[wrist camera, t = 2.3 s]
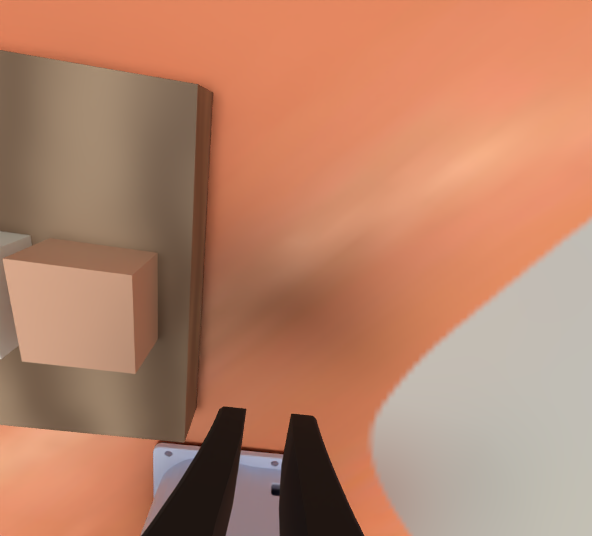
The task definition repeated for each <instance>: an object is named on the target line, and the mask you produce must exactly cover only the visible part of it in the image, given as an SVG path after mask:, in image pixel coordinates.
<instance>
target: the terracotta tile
mask: <svg viewBox="0 0 592 536" xmlns="http://www.w3.org/2000/svg"><path fill="white" fill-rule="evenodd" d="M2 259H3V265H4V270H5V275H6V280H7V286H8V291H9V296H10V301H11V307H12V312H13V317H14V322H15V328H16V333H17V338H18V343H19V349H20V354H21V359H22V362H31V363H41V364H50V365H59V366H68V367H77V368H86V369H95V370H104V371H113V372H122V373H131V374H136V372H137V371H138V369H139V368H140V366H141V365H142V363H143V362H144V360H145V358H146V357H147V355H148V354H149V352H150V351H151V349H152V348H153V346H154V345H155V343H156V341H157V340H158V253H156V252H149V251H142V250H134V249H127V248H119V247H112V246H105V245H97V244H90V243H83V242H75V241H68V240H61V239H53V238H49V239H47V240H44V241H42V242H40V243H37V244H35V245H33V246H30V247H28V248H26V249H23V250H21V251H19V252H16V253H14V254H12V255H9V256H7V257H5V258H2Z"/></svg>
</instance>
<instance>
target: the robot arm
mask: <svg viewBox="0 0 592 536" xmlns="http://www.w3.org/2000/svg"><path fill="white" fill-rule="evenodd" d="M245 414H246V409H243V408H233V407H222V408H221V409H219V411H218V414H217V416H216V419H215V421H214V423H213V425H212V427H211V429H210V431H209V433H208V435H207V436H206V438H205V440H204V442H203V444H202V445H201V446H191V445H181V444H170V443H158V444H157V445H156V446H155V448H154V450H153V485H154V500H153V503H152V505H151V508H150V510H149V513H148V516H147V518H146V521H145V524H144V526H143V529H142V532H141V534H140V536H364V534H363V532H362V530H361V528H360V526H359V524H358V522H357V520H356V518H355V516H354V514H353V512H352V510H351V507H350V505H349V503H348V501H347V499H346V496H345V494H344V492H343V489H342V487H341V485H340V483H339V480H338V478H337V476H336V473H335V471H334V468H333V466H332V463H331V461H330V458H329V456H328V453H327V451H326V448H325V445H324V442H323V439H322V436H321V433H320V430H319V427H318V424H317V420H316V419H315V417H314V416H309V415H300V414H291V418H290V423H289V428H288V433H287V438H286V444H285V449H284V454H274V453H264V452H254V451H243V450H241V446H242V438H243V430H244V422H245Z"/></svg>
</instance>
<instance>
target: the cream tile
mask: <svg viewBox="0 0 592 536" xmlns="http://www.w3.org/2000/svg"><path fill="white" fill-rule="evenodd" d="M30 246H32V243H31V236H30V235H24V234H17V233H9V232H2V231H0V359H2V358H3V357H5V356H6V355H7V354H9V353H10V352H11V351H12V350H14V349H15V348H16V347H18V346H19V343H18V338H17V333H16V328H15V322H14V317H13V312H12V307H11V301H10V296H9V291H8V286H7V280H6V275H5V270H4V265H3V259H2V258H5V257H7V256H9V255H12V254H14V253H16V252H19V251H21V250H23V249H26V248H28V247H30Z"/></svg>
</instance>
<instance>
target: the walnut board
mask: <svg viewBox="0 0 592 536" xmlns="http://www.w3.org/2000/svg"><path fill="white" fill-rule="evenodd" d="M212 100H213V92H211V91H209V90H207V89H205V88H204V87H202V86H200V85H198V84H193V83H187V82H181V81H175V80H170V79H164V78H158V77H152V76H146V75H141V74H135V73H129V72H123V71H118V70H112V69H106V68H100V67H94V66H89V65H83V64H77V63H71V62H66V61H60V60H54V59H48V58H42V57H37V56H31V55H25V54H19V53H13V52H8V51H2V50H0V231H2V232H9V233H17V234H24V235H30V236H31V243H32V246H33V245H35V244H37V243H40V242H42V241H44V240H47V239H49V238H53V239H61V240H68V241H75V242H83V243H90V244H97V245H105V246H112V247H119V248H127V249H134V250H142V251H149V252H156V253H158V340H157V341H156V343H155V345H154V346H153V348H152V349H151V351H150V352H149V354H148V355H147V357H146V358H145V360H144V362H143V363H142V365H141V366H140V368H139V369H138V371H137V372H136V374H131V373H122V372H113V371H104V370H95V369H86V368H77V367H68V366H59V365H50V364H41V363H31V362H22V359H21V354H20V349H19V346H18V347H16V348H15V349H14V350H12V351H11V352H10V353H9V354H7V355H6V356H5V357H3V358H2V359H0V425H8V426H18V427H29V428H39V429H49V430H60V431H70V432H80V433H91V434H101V435H111V436H122V437H132V438H142V439H153V440H163V441H173V442H185V439H186V437H187V434H188V431H189V428H190V425H191V422H192V419H193V416H194V413H195V410H196V403H197V384H198V365H199V346H200V327H201V308H202V289H203V270H204V251H205V232H206V213H207V194H208V176H209V157H210V138H211V119H212Z"/></svg>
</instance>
